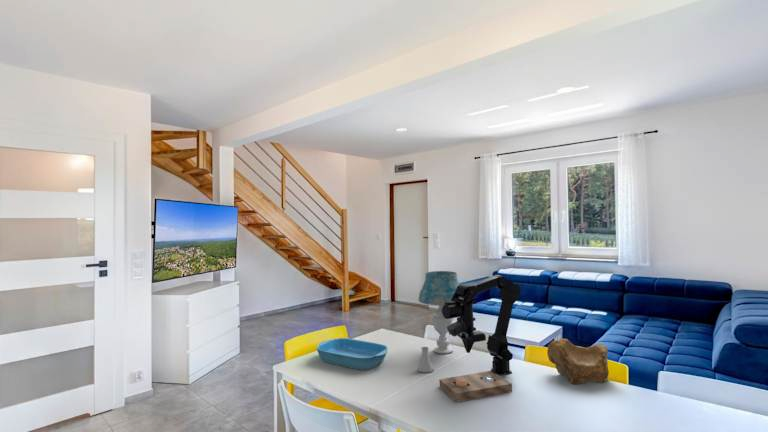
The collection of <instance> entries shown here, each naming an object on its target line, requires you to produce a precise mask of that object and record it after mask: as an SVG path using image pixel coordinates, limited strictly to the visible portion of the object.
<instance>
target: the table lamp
mask: <svg viewBox="0 0 768 432" xmlns="http://www.w3.org/2000/svg"><path fill="white" fill-rule="evenodd" d="M458 285H460V283H459V281H458V274H457V272H455V271H450V270H449V271H448V270H439V271H438V270H434V271H427V272H426V273H425V279H424V283H423V285H422V288H421V289H420V291H419V294H418V301H419V302H420V303H421V304H423V305H430V306H438V308H437V309H434V313H435V314H433V315H432V316H431V321H432V325H433V328H434V330H435V331H436V332H437V333H438V334H439V336H438V338H437V339H436V345H437V346H435V347H434V348H433V351H434V352H435V353H436V354H440V355H448V354H451V353H452V352H454V349H453V348H452V347H450V340H449V339H448V337H447V336H446V334H448V333H449V332H448V329H447V326H449V325H451V324H453V320H454V318H450V319H445V318H444V316H443V314H442V308H443V306H444V305H445V303H444V302H450V301H451V299H452V297H453V295H454V293H455V291H456V288H457V286H458ZM459 299H462V298H459Z"/></svg>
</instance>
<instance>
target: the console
mask: <svg viewBox="0 0 768 432" xmlns="http://www.w3.org/2000/svg"><path fill="white" fill-rule="evenodd" d="M483 376H492V377H493V378H494V381H492V382H487V383H486V382H485V381H483V380H482V377H483ZM458 378H464V379H466V380H467V386H464V387H458V386H456V379H458ZM438 383H439V388H440V389H442V390H443V391H444V392H445V393H446V394H447V395H449V397H451V398H452V400H454V401H455V402H463V401H469V400H474V399H480V398H484V397H490V396H495V395H500V394H505V393H506V394H507V393H511V392H513V383H511V382H510V381H508V380H507V379H505V378H504V377H502V376H501V375H499V374H497V373H495V372H494V371H492V370H487V371H482V372H481V371H480V372H475V373H470V374H469V373H468V374H464V375H463V374H462V375H458V376H450V377H445V378H440V379H439V382H438Z"/></svg>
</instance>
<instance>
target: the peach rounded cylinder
mask: <svg viewBox="0 0 768 432" xmlns="http://www.w3.org/2000/svg"><path fill="white" fill-rule="evenodd" d="M456 386H458V387H464V386H467V380H466V379H464V378H458V379H456Z"/></svg>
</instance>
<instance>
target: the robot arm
mask: <svg viewBox="0 0 768 432" xmlns="http://www.w3.org/2000/svg"><path fill="white" fill-rule="evenodd" d="M495 287H496V288H497V289H498V290H499V291H500V292H499V296H500V299H501V303H500V309H499V312H498V316H497V321H496V326H495V328H494V329H495V330H494V333H493V334H492V335H490V334H489V335H488V336H487V335H486V334H485V333H484V332H481V331H479V330H478V331H477V327H475V325H474V324H475V323H474V321H477V320H476V317H474V305H476V304H478V301H476V300H475V299H474V298H477V296H478V295H479V294H481V293H482V292H485V291H487V290H490V289H492V288H495ZM521 291H522V288H521V287H520V284H518V283H514V282H513V281H511V280H509V279H507V278H506V277H504V276H503V275H499V274H493V275H492V276H490V277H487V278H485V279H481V280H479V281H475V282H473V283H461V284H460V283H459V285H458V286H457V288H456V291H455V293H454V295H453V297H452V299H451V301H450V302H444V303H445V305H444V306H443V308H442V314H443V316H444V318H445V319H450V318H453V319H455V318H456V321H455V322H452V324H451V325H449V326H447V329H448V332H447V333H448V334H449V335H450V336H453V337H458V338H459V339H461V341H462V343H463V344H462V345H463V346H464V350H465V352H466V353H467V354H469V353H470V352H471V350H472V348H473V346H474V344H475V343H478V342H484V341H486V340H487V342H486V349H487V350H488V352H489V354H490V356H492V361H491V362H492V363H491V364H492V368H491V369H490V371H492V372H494V373H495V374H497V375H499V376H503V375H508V374H512V373H513V372H512V370H511V369H510V361H511V360H512V359H513V356H514V354H513V353H512V352H511V351H510V350H509V342H508V338H507V334H508V329H509V324H510V320H511V317H512V316H511V315H512V312H513V311H512V310H513V308H514V304H515V302H517V301H518V299H519V296H520V295H521ZM459 298H462V299H459ZM486 336H487V337H486Z"/></svg>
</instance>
